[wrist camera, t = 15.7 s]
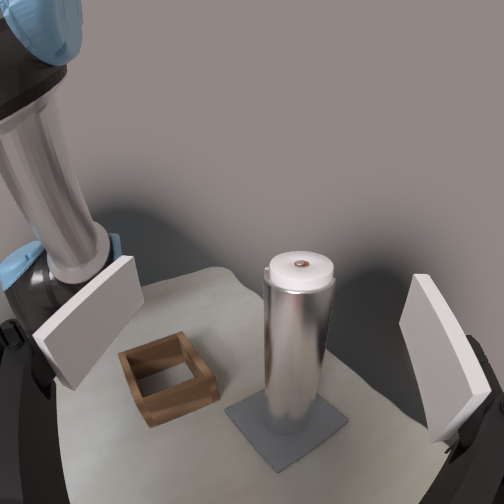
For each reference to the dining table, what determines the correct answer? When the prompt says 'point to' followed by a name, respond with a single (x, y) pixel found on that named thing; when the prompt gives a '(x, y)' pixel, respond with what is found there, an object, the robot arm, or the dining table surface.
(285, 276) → the shiny metal cylinder
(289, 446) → the mat
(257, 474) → the dining table surface
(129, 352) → the square wooden frame
